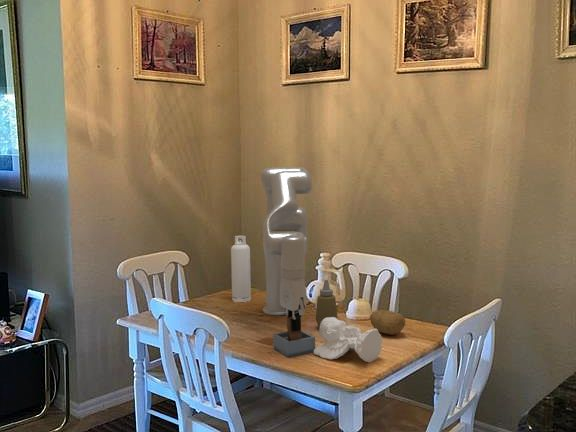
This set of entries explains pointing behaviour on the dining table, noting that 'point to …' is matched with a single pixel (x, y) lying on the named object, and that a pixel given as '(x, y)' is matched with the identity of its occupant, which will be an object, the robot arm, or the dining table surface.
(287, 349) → the grey open storage bin
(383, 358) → the dining table surface
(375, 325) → the potato
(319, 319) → the squeeze bottle
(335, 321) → the cherub figurine
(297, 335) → the brown rectangular block
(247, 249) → the bottle
